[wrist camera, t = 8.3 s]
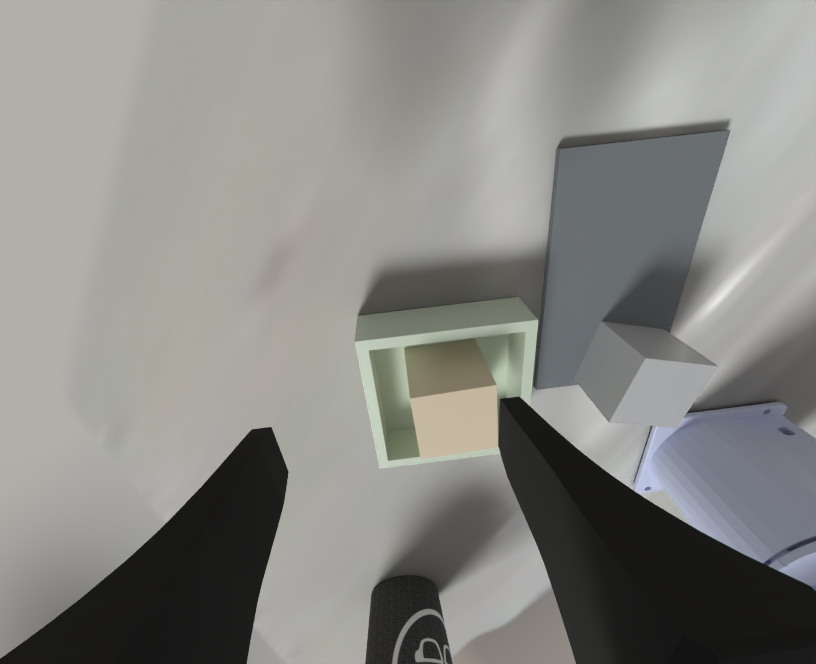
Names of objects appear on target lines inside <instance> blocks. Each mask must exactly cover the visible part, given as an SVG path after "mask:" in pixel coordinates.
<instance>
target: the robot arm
mask: <svg viewBox="0 0 816 664" xmlns="http://www.w3.org/2000/svg"><path fill="white" fill-rule="evenodd" d="M786 410H787V406H786V405H785V404H783V403H782V402H773V403H766V404H758V405H750V406H742V407H734V408H726V409H718V410H710V411H702V412H694V413H686V415H685V416H684V418H683V419H682V420H681V422H680V423H679V425H678V426H677V428H671V427H659V426H652V430H651V433H650V436H649V439H648V442H647V445H646V448H645V451H644V454H643V457H642V461H641V464H640V467H639V470H638V473H637V476H636V479H635V482H634V485H633V489H634V490H635V491H636V492H637V493H636V492H635V491H633V490H632V489H630V488H629V487H627V486H626V485H624V484H623V483H621V482H620V481H619V480H617V479H616V478H614V477H613V476H611V475H610V474H609V473H607V472H606V471H605V470H603V469H602V468H601V467H599V466H598V465H597V464H596V463H594V462H593V461H592V460H591V459H589V458H588V457H587V456H585V455H584V454H583V453H582V452H581V451H579V450H578V449H577V448H576V447H575V446H573V445H572V444H571V443H570V442H569V441H568V440H566V439H565V438H564V437H563V436H562V435H561V434H559V433H558V432H557V431H556V430H555V429H554V428H553V427H552V426H550V425H549V424H548V423H547V422H546V421H545V420H544V419H543V418H542V417H541V416H540V415H539V414H538V413H536V412H535V411H534V410H533V409H532V408H531V407H530V406H529V405H528V404H527V403H526V402H525V401H524V400H523V399H522V398H520V397H511V398H503V399H500V412H499V438H498V447H499V450H500V453H501V457H502V460H503V464H504V467H505V470H506V473H507V476H508V479H509V481H510V484H511V486H512V488H513V491H514V493H515V495H516V498H517V500H518V502H519V505H520V507H521V509H522V511H523V514H524V516H525V518H526V521H527V523H528V525H529V528H530V530H531V532H532V535H533V537H534V539H535V541H536V544H537V546H538V549H539V551H540V554H541V556H542V559H543V562H544V564H545V567H546V570H547V573H548V576H549V579H550V582H551V585H552V588H553V591H554V594H555V597H556V600H557V603H558V607H559V609H560V613H561V616H562V619H563V622H564V625H565V629H566V632H567V635H568V638H569V641H570V645H571V648H572V651H573V655H574V658H575V661H576V664H816V438H814V437H813V436H811V435H810V434H809V433H807V432H806V431H804V430H803V429H801V428H800V427H798V426H797V425H796V424H794V423H793V422H791V421H790V420H788V419H787V418H785V417H784V416H783V415H784V413H785V411H786ZM287 478H288V470H287V467H286V464H285V462H284V459H283V456H282V454H281V451H280V449H279V446H278V443H277V441H276V438H275V435H274V433H273V430H272V428H271V427H268V428H260V429H252V430H251V431H250V432H249V433H248V434H247V435H246V437H245V438H244V439H243V440H242V441H241V442H240V443H239V445H238V446H237V447H236V448H235V449H234V450H233V452H232V453H231V454H230V455H229V456H228V457H227V459H226V460H225V461H224V462H223V463H222V464H221V465H220V467H219V468H218V469H217V470H216V471H215V472H214V473H213V474H212V476H211V477H210V478H209V479H208V480H207V481H206V482H205V483H204V485H203V486H202V487H201V488H200V489H199V490H198V491H197V492H196V493H195V494H194V495H193V496H192V497H191V498H190V499H189V500H188V501H187V502H186V504H185V505H184V506H183V507H182V508H181V509H180V510H179V511H178V512H177V513H176V514H175V515H174V516H173V517H172V518H171V519H170V520H169V521H168V522H167V523H166V524H165V525H164V526H163V527H162V528H161V529H160V530H159V531H158V532H157V533H156V534H155V535H154V536H153V537H152V538H151V539H149V540H148V541H147V542H146V543H145V544H144V545H143V546H142V547H141V548H140V549H138V550H137V551H136V552H135V553H134V554H133V555H132V556H131V557H130V558H128V559H127V560H126V561H125V562H124V563H123V564H122V565H120V566H119V567H118V568H117V569H116V570H114V571H113V572H112V573H111V574H110V575H108V576H107V577H106V578H105V579H104V580H102V581H101V582H100V583H99V584H98V585H96V586H95V587H94V588H93V589H92V590H90V591H89V592H88V593H87V594H86V595H84V596H83V597H82V598H81V599H80V600H78V601H77V602H76V603H74V604H73V605H72V606H71V607H69V608H68V609H67V610H65V611H64V612H63V613H62V614H60V615H59V616H58V617H56V618H55V619H54V620H53V621H51V622H50V623H49V624H47V625H46V626H45V627H44V628H42V629H40V630H39V631H38V632H37V633H35V634H34V635H32V636H31V637H30V638H29V639H27V640H26V641H24V642H23V643H22V644H20V645H19V646H17V647H16V648H15V649H13V650H12V651H11V652H9V653H8V654H7V655H5V656H4V657H2V658H1V659H0V664H247V657H248V651H249V645H250V639H251V634H252V629H253V623H254V618H255V613H256V607H257V602H258V597H259V593H260V589H261V585H262V581H263V577H264V574H265V570H266V567H267V563H268V560H269V556H270V552H271V549H272V545H273V542H274V538H275V534H276V531H277V527H278V524H279V520H280V516H281V512H282V509H283V505H284V499H285V493H286V486H287ZM661 490H664V491H665V492H666V494H667V495H668V496H669V497H670V499H671V500H672V501H673V502H674V504H675V505H676V506H677V507H678V508H679V510H680V511H681V512H682V513H683V515H684V516H685V517H686V518H687V520H688V521H689V522H690V523H691V525H692V526H693V527H692V526H690V525H688V524H687V523H685V522H683V521H682V520H680V519H678V518H677V517H675V516H673V515H672V514H670V513H668V512H667V511H665V510H663V509H661V508H660V507H658V506H656V505H655V504H653V503H652V502H650V501H648V500H647V499H645V498H644V497H642V496H641V495H639V494H638V493H645V492H653V491H661Z"/></svg>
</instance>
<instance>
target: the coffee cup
mask: <svg viewBox="0 0 816 664" xmlns="http://www.w3.org/2000/svg"><path fill="white" fill-rule="evenodd" d="M365 664H453V663H452V658H451V654H450V649H449V644H448V639H447V634H446V629H445V624H444V620H443V615H442V610H441V605H440V600H439V595H438V591H437V587H436V585H435V584H434V583H433V582H432V581H430V580H428V579H426V578H423V577H418V576H400V577H395V578H391V579H388V580H386V581H384V582H382V583H380V584H379V585H378V586H376V587H375V589H374V590H373V592H372V595H371V606H370V617H369V629H368V640H367V651H366V663H365Z"/></svg>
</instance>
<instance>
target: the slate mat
mask: <svg viewBox="0 0 816 664" xmlns="http://www.w3.org/2000/svg"><path fill="white" fill-rule="evenodd" d="M729 133H730V130H722V131H713V132H704V133H695V134H686V135H677V136H667V137H658V138H649V139H640V140H631V141H622V142H613V143H604V144H595V145H586V146H577V147H568V148H559V149H557V150H556V161H555V171H554V182H553V192H552V202H551V213H550V223H549V234H548V244H547V254H546V265H545V275H544V286H543V296H542V306H541V317H540V327H539V338H538V348H537V358H536V369H535V379H534V387H535V389H536V390H538V389H546V388H554V387H562V386H570V385H578V383H577V382H576V381H575V379H574V378H575V376H576V373H577V371H578V369H579V367H580V365H581V363H582V361H583V359H584V357H585V354H586V352H587V350H588V348H589V346H590V344H591V342H592V340H593V337H594V335H595V333H596V331H597V329H598V327H599V325H600V323H601V321H603V322H611V323H619V324H627V325H635V326H643V327H651V328H659V329H664V330H666V331H667V332H669V333H670V329H671V326H672V323H673V319H674V316H675V313H676V309H677V306H678V303H679V299H680V296H681V293H682V289H683V286H684V283H685V280H686V276H687V273H688V270H689V266H690V263H691V260H692V256H693V253H694V250H695V246H696V243H697V240H698V236H699V233H700V230H701V226H702V223H703V220H704V216H705V213H706V210H707V206H708V203H709V200H710V197H711V193H712V190H713V187H714V183H715V180H716V177H717V173H718V170H719V167H720V163H721V160H722V157H723V153H724V150H725V147H726V143H727V140H728V137H729Z"/></svg>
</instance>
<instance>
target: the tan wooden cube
mask: <svg viewBox="0 0 816 664" xmlns="http://www.w3.org/2000/svg"><path fill="white" fill-rule="evenodd" d="M404 353H405V362H406V370H407V378H408V386H409V395H410V402H411V407H412V413H413V419H414V424H415V430H416V436H417V442H418V447H419V453H420V459H425V458H431V457H438V456H444V455H451V454H457V453H463V452H470V451H476V450H482V449H489V448H495V447H498V416H497V384H496V382H495V380H494V378H493V376H492V374H491V372H490V370H489V367H488V365H487V363H486V361H485V359H484V357H483V355H482V353H481V351H480V348H479V346H478V344H477V342H476V340H475V338H473V339H466V340H460V341H454V342H447V343H441V344H435V345H428V346H422V347H416V348H409V349H404Z"/></svg>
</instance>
